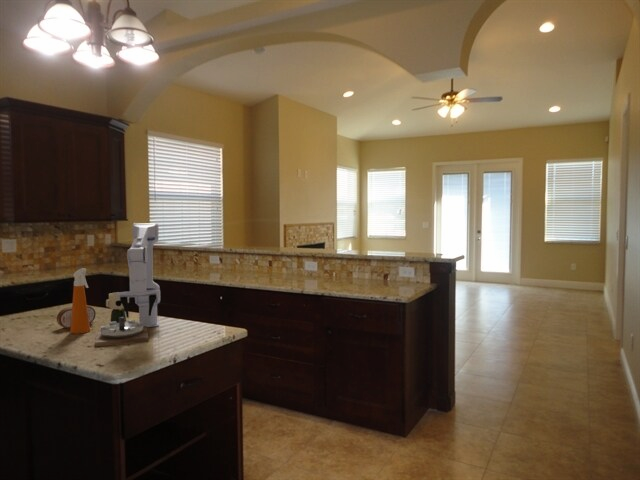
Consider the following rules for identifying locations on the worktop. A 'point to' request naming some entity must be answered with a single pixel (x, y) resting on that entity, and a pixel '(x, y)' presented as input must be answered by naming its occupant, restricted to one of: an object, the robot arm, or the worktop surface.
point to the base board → (121, 339)
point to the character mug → (115, 307)
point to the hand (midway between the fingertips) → (138, 316)
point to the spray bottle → (79, 304)
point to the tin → (66, 316)
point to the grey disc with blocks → (121, 329)
